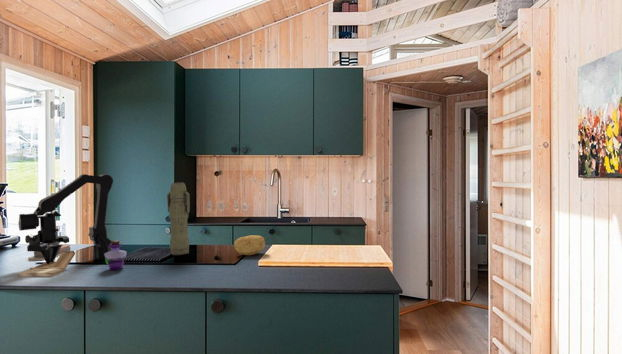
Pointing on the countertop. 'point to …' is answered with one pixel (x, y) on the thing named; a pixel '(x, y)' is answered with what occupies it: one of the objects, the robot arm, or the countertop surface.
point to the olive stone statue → (178, 218)
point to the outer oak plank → (45, 265)
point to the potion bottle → (115, 256)
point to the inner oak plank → (64, 259)
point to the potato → (249, 244)
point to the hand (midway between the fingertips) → (50, 263)
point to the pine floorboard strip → (41, 272)
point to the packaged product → (39, 255)
